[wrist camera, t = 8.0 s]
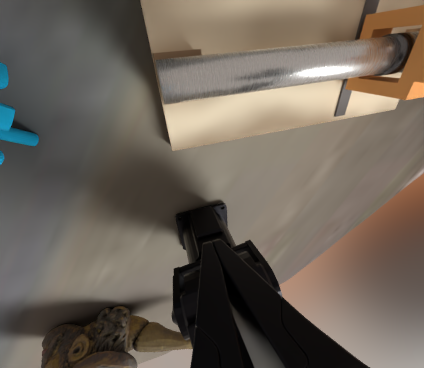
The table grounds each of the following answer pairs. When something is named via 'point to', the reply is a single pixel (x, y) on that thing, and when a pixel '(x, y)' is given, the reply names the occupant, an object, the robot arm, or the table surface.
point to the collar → (415, 66)
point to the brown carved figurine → (108, 341)
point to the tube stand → (267, 64)
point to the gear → (11, 120)
